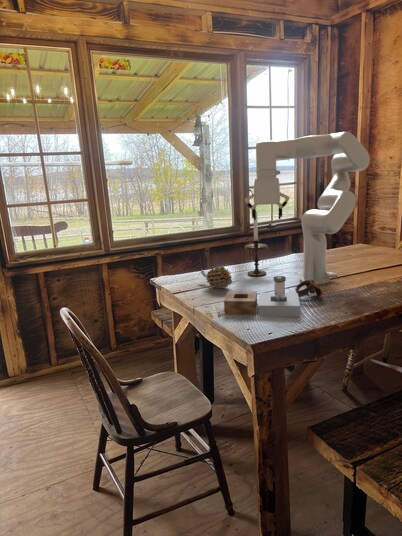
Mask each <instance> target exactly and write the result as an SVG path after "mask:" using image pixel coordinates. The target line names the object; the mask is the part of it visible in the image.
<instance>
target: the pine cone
mask: <svg viewBox="0 0 402 536" xmlns="http://www.w3.org/2000/svg"><path fill="white" fill-rule="evenodd" d="M200 272H201V275H202V276H203V277H205V279H206V283H208V284H209V286H210V287H211V288H213V287H214V288H215V289H218V288H219V289H223V288H225V289H226V288H227V287H229V286H230V285H231V284H232V283H233V280H232V275H231V274H232V272H230V270H229V268H227V269H226V268H225V266H220V267H219V266H216V267H215V268H212V269H210V270H209V271H207V274H206V272H205V270H203V269H201V270H200Z"/></svg>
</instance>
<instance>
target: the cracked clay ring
mask: <svg viewBox="0 0 402 536" xmlns="http://www.w3.org/2000/svg"><path fill="white" fill-rule="evenodd" d="M304 286H306V287H305V288H303V289H301V288H302V287H304ZM300 289H301V290H300ZM294 290H295V293H298V297H299V298H301V297H310V294H315V293H316V296H317V297H319V298H320V301H323V300H324V296H323V292H322V290H321V287H320V286H319V285H317V284H316V283H315V282H314V281H313V280H306V281H303V282H301V281H300V282H299V284H298V285H296V288H295V289H294Z"/></svg>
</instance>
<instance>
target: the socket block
mask: <svg viewBox="0 0 402 536" xmlns="http://www.w3.org/2000/svg"><path fill="white" fill-rule="evenodd" d="M258 296H259V297H258V302H257V311H258V312H257V313H258V314H257V315H258V317H266V318H267V317H268V318H270V317H272V318H274V317H276V318H277V317H279V318H301V303H300V299H299V298H300V297H298V293H296V292H285V302H275V292H259V295H258Z"/></svg>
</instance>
